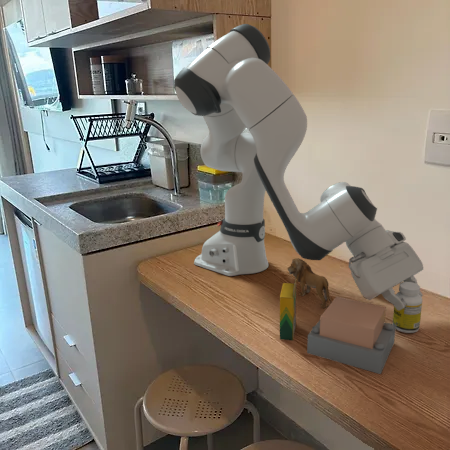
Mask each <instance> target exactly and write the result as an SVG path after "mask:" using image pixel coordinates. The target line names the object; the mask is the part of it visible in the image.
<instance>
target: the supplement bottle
mask: <svg viewBox="0 0 450 450" xmlns="http://www.w3.org/2000/svg"><path fill="white" fill-rule="evenodd" d="M398 287H399V288H398V290H399V291H398V292H397V293H395V295H396V296H398V297H399V298H400V299H402V298H403V299H404V301H405V303H406V304H407V306H406V307H405V308H403V309H401V310H399V311H398V310H397V309H396V308H395V306H394V305H393V314H392V315H393V316H392V325H396V328H395V330H397V331H399V332H402V333H406V334H412V333H416V332H418V331H419V330H420V325H421V316H422V308H423V298H422V297H423V296H422V297H421V296H420V295H419V293H420V291H421V286H420V285H419V284H418V283H417V284H416V283H412V282H401V283H399V286H398Z"/></svg>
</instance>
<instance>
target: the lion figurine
mask: <svg viewBox="0 0 450 450" xmlns="http://www.w3.org/2000/svg"><path fill="white" fill-rule="evenodd" d="M286 269H287V272H288V273H289V275H293V277H294V278H296V282H298V283H299V285H300V286H299V287H300V290H301V292H299V293H298V296H300V297H303V296H304V295H306V293H310V292H311V289H315V291H316V293H317V296H318V298H319V300H321V304H320V308H321V309H324V308H326V307H327V303H326V302H327V301H328V302H329V303H330V304H331V303H332V302H333V300H331V296H330V291H329V281H328V279H327V278H326V277H325V276H323V275H318V274H316V272H313V270H312V268H311V266H310V265H309V264H308V263H307V262H306V261H305V260H303V258H297V257H296V258H292V259H291V263H290V266H288V267H287V268H286Z"/></svg>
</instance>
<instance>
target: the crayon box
mask: <svg viewBox="0 0 450 450" xmlns="http://www.w3.org/2000/svg"><path fill="white" fill-rule="evenodd" d="M294 278H295V277H294ZM296 306H297V279H296V278H295V279H294V283H289V282H282V286H281V291H280V293H279V340H281V341H282V340H283V341H292V342H293V341H294V337H295V331H296V323H297V322H296V321H297V318H296V317H297V315H296V313H297V312H296V311H297V309H296V308H297V307H296Z"/></svg>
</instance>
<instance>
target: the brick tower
mask: <svg viewBox="0 0 450 450" xmlns="http://www.w3.org/2000/svg"><path fill="white" fill-rule="evenodd" d="M386 311H387V307H386V306H382V305H379V304H378V305H377V304H374V303H367V302H364V301H359V300H354V299H350V298H346V297H345V298H344V297H340V296H336V297H335V298H334V299H333V300H332V303H330V304H329V305H328V307H327V308H326V309H325V310H324V312H323V313H322V314H321V315H320V317H319V320H318V321H317V323H316V324H315V325H314V326H312V327H311V328H312V329H311V331H309V333H308V334H307V346H306V347H307V348H306V349H307V350H306V351H307V352H306V353H307V354H309V355H313V356H316V357H320V358H324V359H326V360H327V359H328V360H330V361H334V362H337V363H340V364H344V365H348V366H351V367H355V368H358V369H361V370H366V371H369V372H373V373H375V374H379V375H381V374H382V372H383V369H384V367H385V365H386V363H387V360H388V358H389V356H390V353H391V351H392V349H393V346H394V344H395V337H396V336H395V335H396V329H395V328H396V325H393V323H390V322H385V321H386Z"/></svg>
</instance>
